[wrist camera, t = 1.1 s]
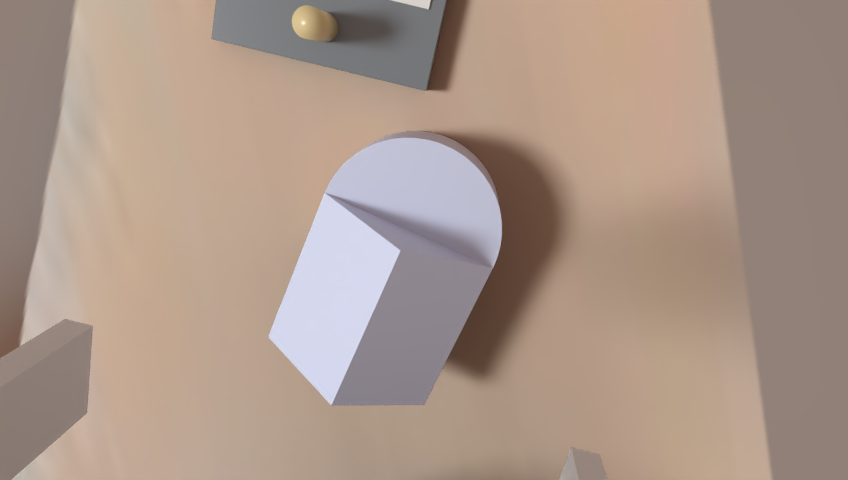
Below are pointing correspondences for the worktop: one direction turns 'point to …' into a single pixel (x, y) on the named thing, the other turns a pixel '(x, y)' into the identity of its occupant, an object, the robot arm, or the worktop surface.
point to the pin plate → (340, 34)
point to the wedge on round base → (390, 270)
